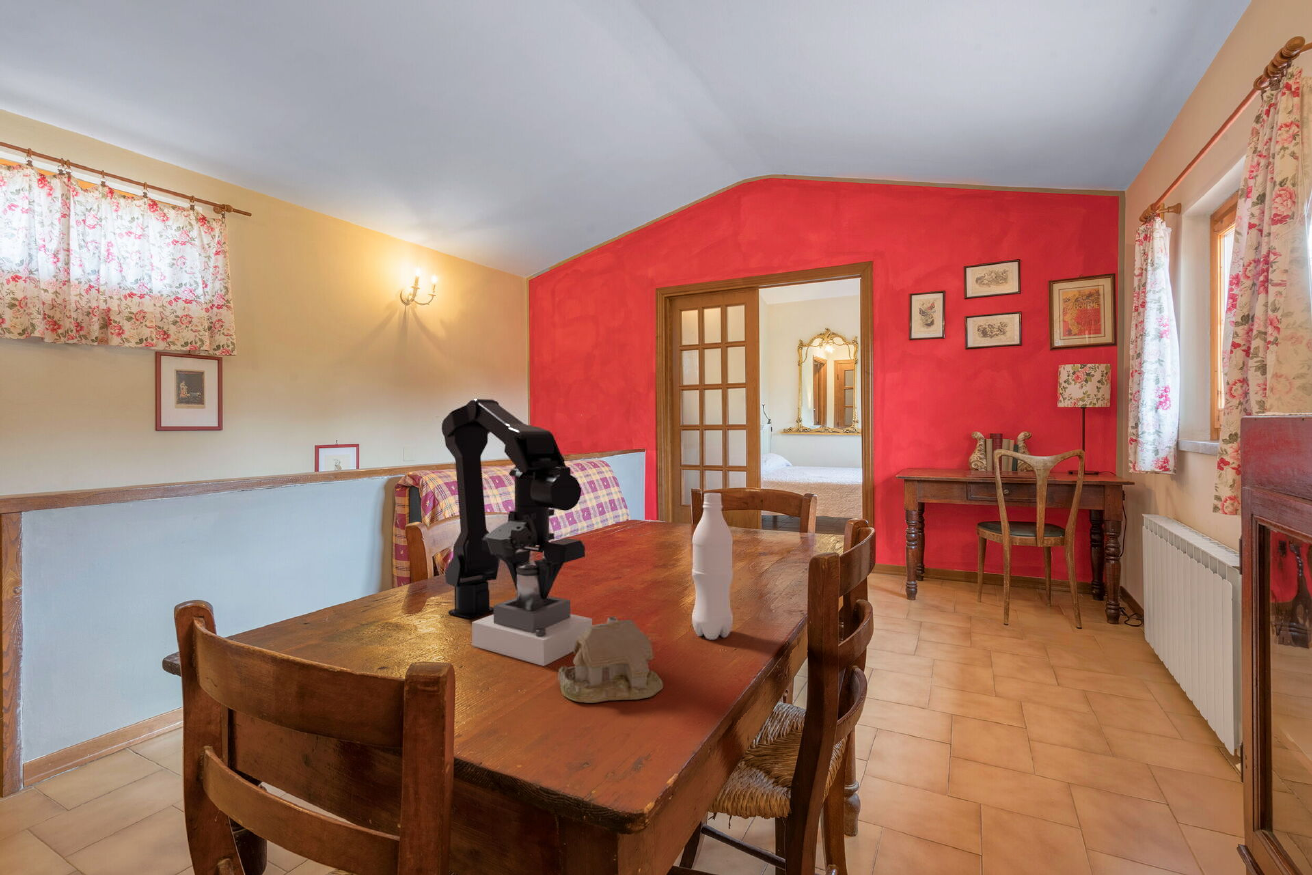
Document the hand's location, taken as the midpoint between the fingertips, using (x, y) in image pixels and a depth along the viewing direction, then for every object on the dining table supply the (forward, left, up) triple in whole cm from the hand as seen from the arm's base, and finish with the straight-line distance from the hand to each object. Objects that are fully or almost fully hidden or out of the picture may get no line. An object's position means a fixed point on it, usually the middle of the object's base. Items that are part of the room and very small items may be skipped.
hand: (532, 596), depth 100 cm
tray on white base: (0, 0, -8) cm, 8 cm away
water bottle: (+24, +20, -8) cm, 32 cm away
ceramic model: (+21, -6, -9) cm, 24 cm away
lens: (0, 0, -2) cm, 2 cm away
